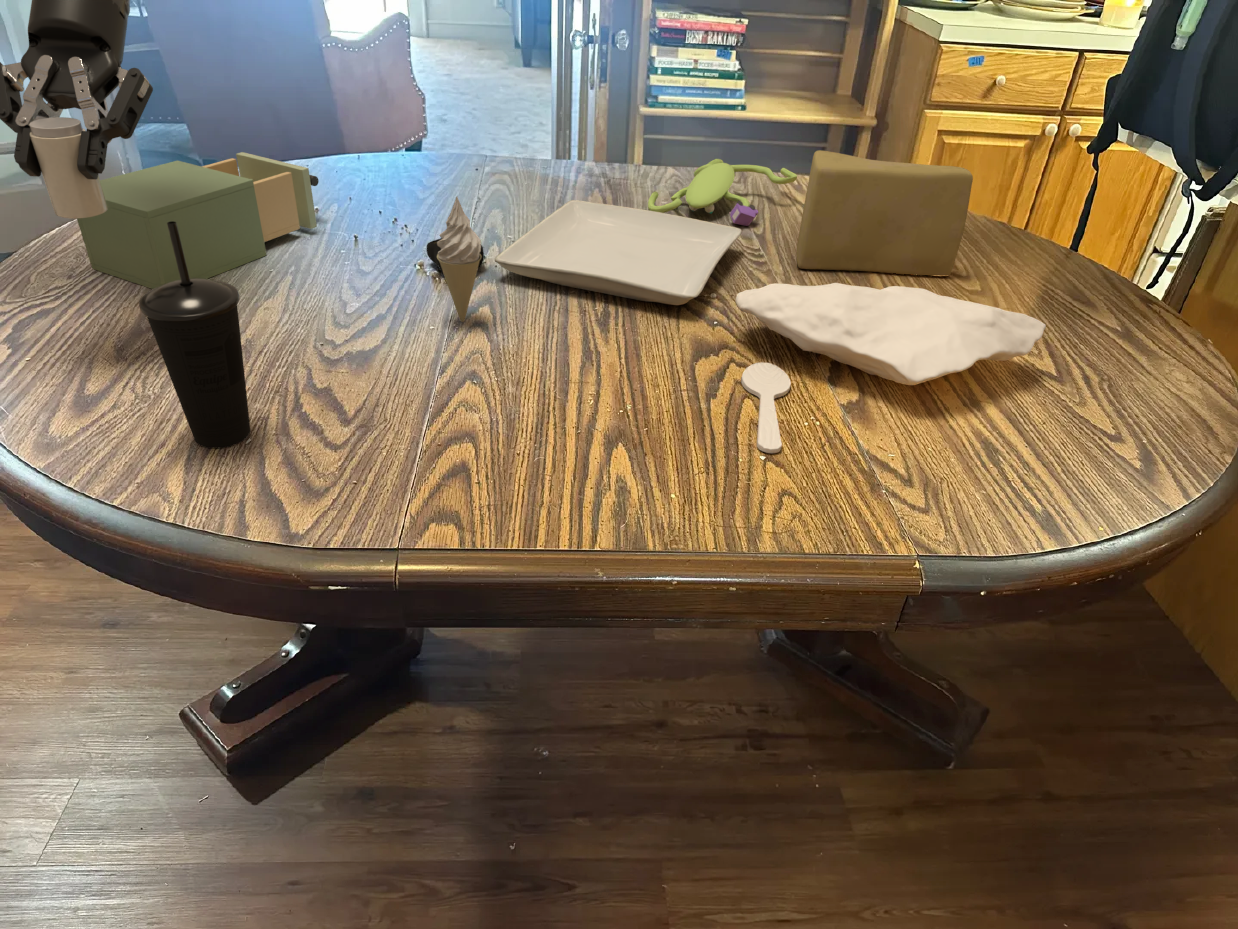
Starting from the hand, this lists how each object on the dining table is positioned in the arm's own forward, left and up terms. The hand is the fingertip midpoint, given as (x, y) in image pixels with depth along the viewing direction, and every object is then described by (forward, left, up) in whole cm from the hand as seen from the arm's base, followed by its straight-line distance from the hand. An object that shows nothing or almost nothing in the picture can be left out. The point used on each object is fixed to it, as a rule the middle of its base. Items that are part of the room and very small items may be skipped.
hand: (58, 172), depth 77 cm
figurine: (+32, +91, -20) cm, 98 cm away
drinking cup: (+19, -4, -20) cm, 28 cm away
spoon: (+61, +29, -20) cm, 70 cm away
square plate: (+31, +55, -20) cm, 66 cm away
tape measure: (+13, +40, -20) cm, 47 cm away
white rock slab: (+69, +46, -20) cm, 85 cm away
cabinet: (-17, +22, -20) cm, 35 cm away
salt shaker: (-1, +2, -4) cm, 4 cm away
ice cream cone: (+23, +28, -20) cm, 42 cm away
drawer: (-17, +35, -19) cm, 44 cm away
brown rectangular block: (+61, +76, -20) cm, 100 cm away
